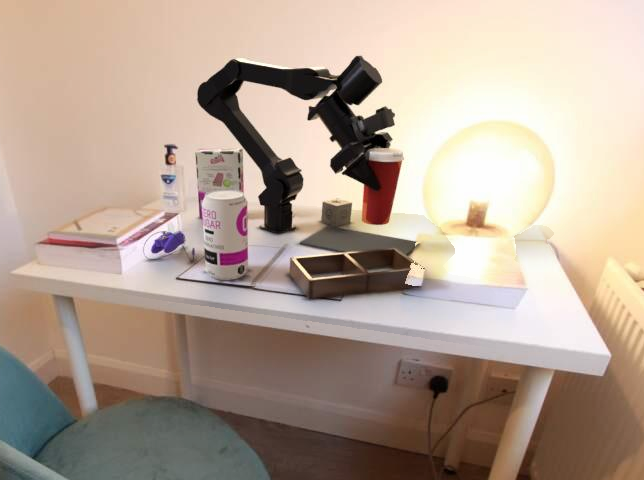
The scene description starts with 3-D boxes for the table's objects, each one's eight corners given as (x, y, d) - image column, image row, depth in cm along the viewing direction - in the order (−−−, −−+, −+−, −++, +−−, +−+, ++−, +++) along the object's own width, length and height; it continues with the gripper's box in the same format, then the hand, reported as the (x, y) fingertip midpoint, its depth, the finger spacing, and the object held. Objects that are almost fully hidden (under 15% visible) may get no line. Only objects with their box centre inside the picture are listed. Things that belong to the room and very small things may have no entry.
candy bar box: (244, 214, 129) (243, 148, 121) (241, 219, 125) (240, 151, 117) (203, 213, 131) (199, 147, 123) (198, 218, 127) (194, 151, 119)
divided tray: (289, 274, 94) (290, 257, 92) (392, 264, 98) (395, 247, 96) (308, 299, 85) (309, 280, 83) (422, 286, 88) (425, 268, 87)
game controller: (132, 239, 102) (172, 220, 106) (149, 275, 105) (187, 255, 109) (149, 237, 93) (192, 217, 97) (167, 276, 96) (208, 255, 100)
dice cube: (336, 218, 125) (337, 198, 123) (350, 223, 121) (352, 202, 119) (321, 221, 123) (322, 201, 120) (335, 226, 119) (336, 206, 117)
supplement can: (253, 267, 98) (253, 190, 90) (239, 283, 91) (238, 201, 83) (215, 263, 100) (211, 187, 92) (199, 278, 93) (194, 198, 86)
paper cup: (401, 222, 103) (413, 152, 96) (375, 228, 99) (385, 155, 92) (374, 213, 109) (384, 146, 101) (348, 219, 105) (356, 149, 98)
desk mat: (299, 244, 109) (299, 242, 109) (327, 227, 119) (327, 225, 119) (397, 263, 98) (397, 262, 98) (419, 243, 108) (419, 242, 108)
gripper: (351, 95, 87) (403, 167, 87) (389, 89, 100) (434, 151, 100) (309, 139, 95) (356, 205, 95) (349, 127, 108) (390, 186, 108)
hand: (386, 185), depth 99 cm, fingers closed on paper cup, 7 cm apart
